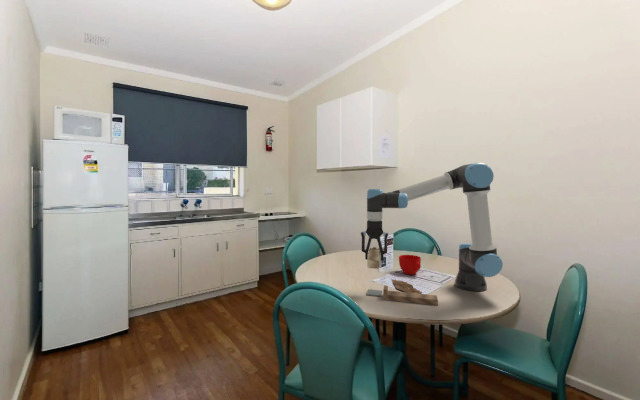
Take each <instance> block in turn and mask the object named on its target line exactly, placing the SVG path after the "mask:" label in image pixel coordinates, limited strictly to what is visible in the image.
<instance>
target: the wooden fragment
mask: <svg viewBox="0 0 640 400" xmlns="http://www.w3.org/2000/svg"><path fill="white" fill-rule="evenodd" d="M391 282H392V283H393V285H394V287H395V289H397V290H398V291H400V292H408V293H418V294H423V292H422V291H420V290H419V289H417V288H414V285H413V284H411V283H408V282H407V281H403V280H396V279H392V278H391Z"/></svg>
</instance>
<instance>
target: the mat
mask: <svg viewBox="0 0 640 400" xmlns="http://www.w3.org/2000/svg"><path fill="white" fill-rule="evenodd" d="M382 293H383V291H382V290H381V289H380V290H379V289H371V288H370V289H367V291H366V293H365V294H366V296H369V297H379V298H380V297H382Z"/></svg>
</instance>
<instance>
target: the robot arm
mask: <svg viewBox="0 0 640 400" xmlns="http://www.w3.org/2000/svg"><path fill="white" fill-rule="evenodd" d="M494 178H495V177H494V171H493V169H492V168H491V167H490V166H489V165H488V164H486V163H483V162H473V163H469V164H462V165H461V166H458V167H456V168H454V169H452V170H449V171H446V172H444V174H443V175H440V176H437V177H433V178H431V179H426V180H424V181H421V182H418V183H415V184H412V185H409V186H406V187H403V188H400V189H397V190H393V191H389V192H383V191H384V190H383V189H382V188H369V189H368V190H366V191H367V193H366V230H365V231H361V232H360V235H361V253H364V255H365V256H364V257H365V258H364V259H365V260H367V261H366V262H367V263H366V264H367V265H366V266H367V268H369V249H370V248H371V247H370V246H371V243H372V240H374V239H375V240H376V242H377V245H378V248H379V249H380V254H379V269H380V268H382V261H384V255H385V254H387V253H388V236H389V232H385V231H384V230H383V221H382V220H383V209H406V208H408V204H409V202H411V201H414V200H417V199H419V198H420V199H421V198H423V197H426V196H430V195H433V194H436V193H439V192H442V191H445V190H450V191H451V190H455V189H461V188H462V194H464V195H465V196H466V201H467V208H468V209H467V210H468V218H469V219H468V220H469V228H470V229H469V230H470V237H471V243H467V242H466V243H464V242H463V243H460V244H459V248H458V271H457V273H456V276H455V279H454V285H455V286H456V287H457V288H459V289H462V290H465V291H470V292H483V291H486V290H487V289H488V283H487V281H486V278H494V277H495V276H498V274H499V273H500V272H501V271H502V270H503V266H504V263H503V260H502V258H501V257H500V256H499V255H498V251H497V246H496V245H494V244H493V237H492V228H491V221H490V219H491V218H490V209H489V201H488V194H489V192H490V191H491V184H492V182H493V181H494ZM382 235H383V238H384V240H383V241H384V243H382V241H381V237H382ZM366 236H368V240H367V244H366ZM382 244H384V248H383V245H382ZM485 277H486V278H485Z"/></svg>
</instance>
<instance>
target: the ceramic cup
mask: <svg viewBox="0 0 640 400" xmlns="http://www.w3.org/2000/svg"><path fill="white" fill-rule="evenodd" d="M398 262H399V263H398V264H399V267H400V269H401V271H402V273H403V274H405V275H411V276H412V275H416V274H417V273H418V271H420V269H421V262H422V258H421V257H420V256H418V255H416V254H415V255H414V254H401V255H399V256H398Z"/></svg>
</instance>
